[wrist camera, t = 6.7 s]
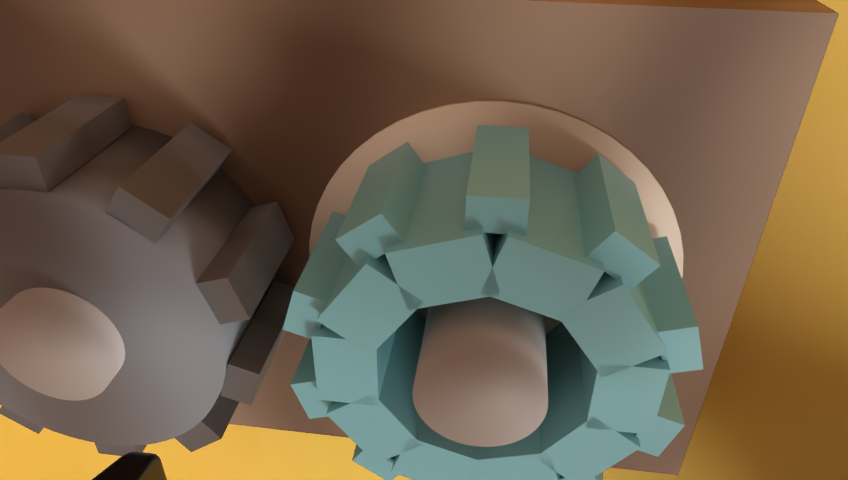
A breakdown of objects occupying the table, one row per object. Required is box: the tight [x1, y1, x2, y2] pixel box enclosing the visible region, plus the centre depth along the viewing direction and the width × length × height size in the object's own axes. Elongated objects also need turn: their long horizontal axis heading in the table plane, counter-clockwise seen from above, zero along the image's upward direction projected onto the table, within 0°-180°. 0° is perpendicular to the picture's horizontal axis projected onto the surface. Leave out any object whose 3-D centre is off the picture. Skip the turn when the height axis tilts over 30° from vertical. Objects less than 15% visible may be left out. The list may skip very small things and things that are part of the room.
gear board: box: [0, 0, 839, 475], centre depth 13 cm, size 17×11×5 cm, turn 89°
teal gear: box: [283, 125, 703, 480], centre depth 12 cm, size 7×7×3 cm
